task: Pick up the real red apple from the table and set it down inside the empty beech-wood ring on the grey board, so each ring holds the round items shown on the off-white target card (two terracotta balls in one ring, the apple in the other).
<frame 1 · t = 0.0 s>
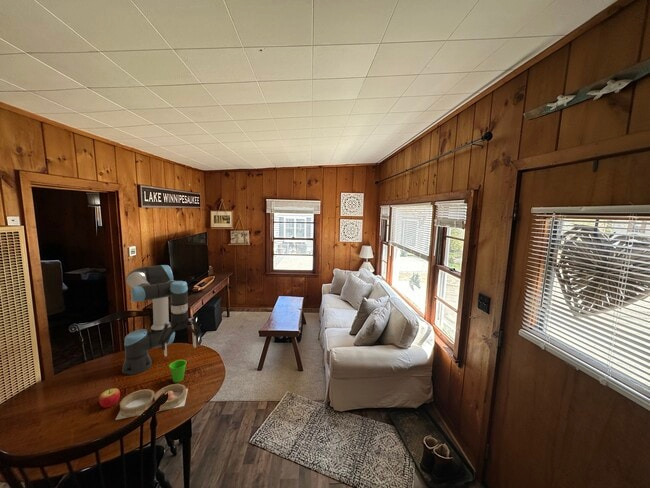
hand: (180, 350, 134), 28 cm above the table, fingers open, 13 cm apart
ring a: (170, 399, 136), resting on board
ball 1: (169, 397, 137), point 1 cm above the table, touching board
apple: (110, 405, 132), on the table
ring b: (138, 406, 131), resting on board
target card: (153, 392, 142), on the table
cup: (178, 381, 152), on the table
ball 2: (171, 402, 134), point 1 cm above the table, touching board
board: (154, 404, 133), on the table
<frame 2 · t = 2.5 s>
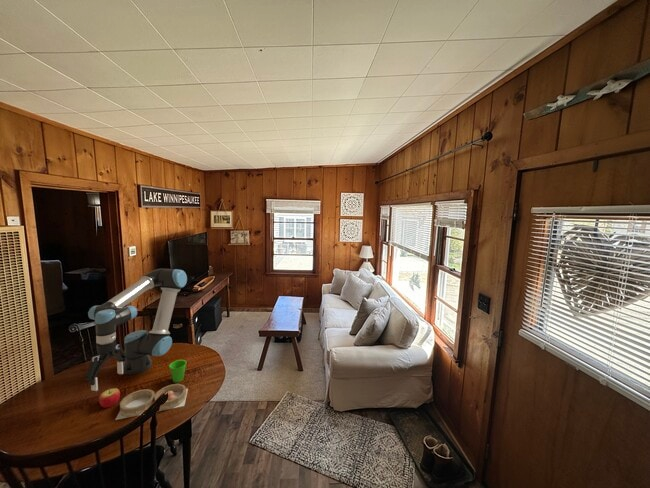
hand: (108, 381, 130), 13 cm above the table, fingers open, 13 cm apart
nothing on the table moved.
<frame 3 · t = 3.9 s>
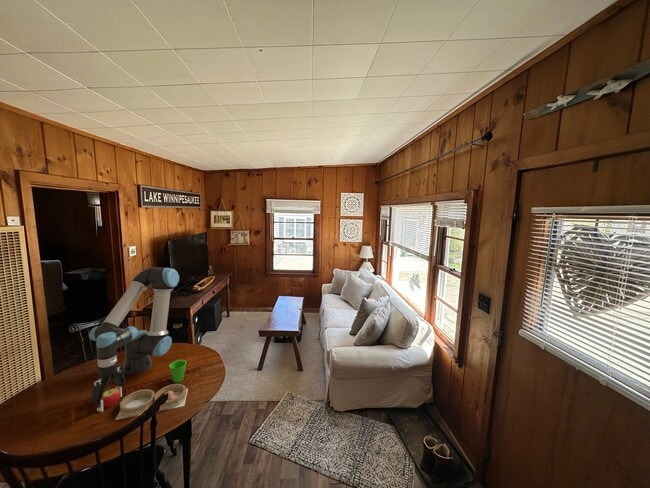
hand: (110, 405, 132), 0 cm above the table, fingers open, 9 cm apart
nothing on the table moved.
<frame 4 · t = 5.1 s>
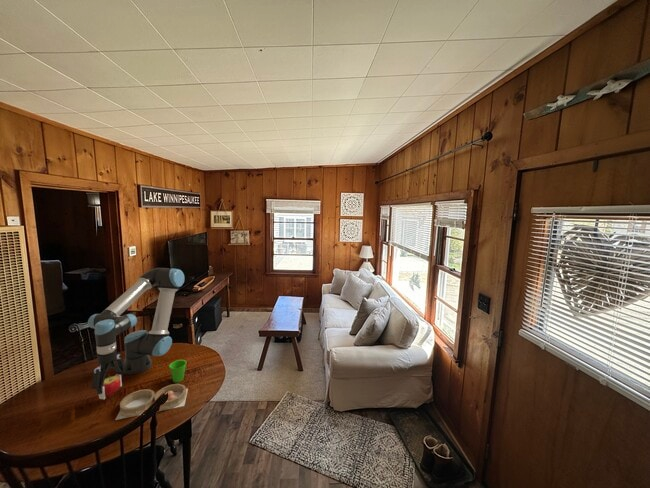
hand: (110, 391, 132), 7 cm above the table, fingers closed on apple, 8 cm apart
apple: (111, 392, 132), point 6 cm above the table, touching gripper
everything else where it was.
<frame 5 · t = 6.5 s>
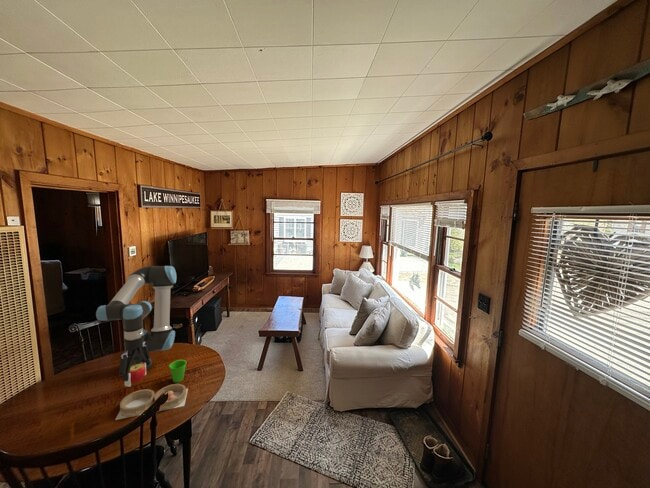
hand: (135, 380, 129), 15 cm above the table, fingers closed on apple, 8 cm apart
apple: (135, 380, 129), point 15 cm above the table, touching gripper
everything else where it was.
when the fingers open (6 cm above the table, at t = 8.4 s): apple drops 4 cm, resting on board.
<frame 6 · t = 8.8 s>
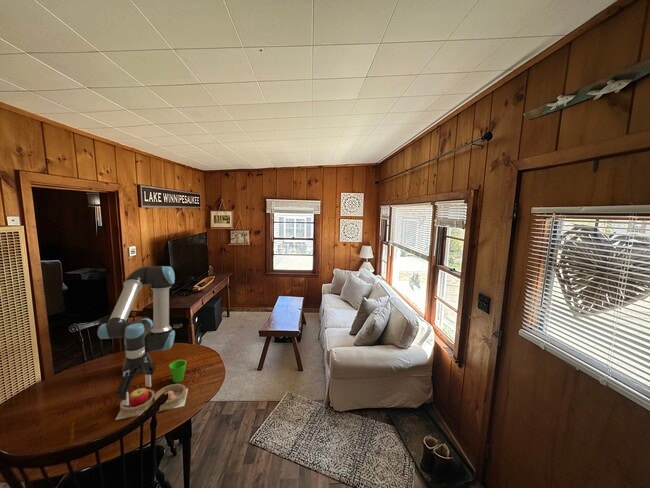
hand: (137, 395, 130), 7 cm above the table, fingers open, 13 cm apart
apple: (139, 405, 131), point 1 cm above the table, touching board
everything else where it was.
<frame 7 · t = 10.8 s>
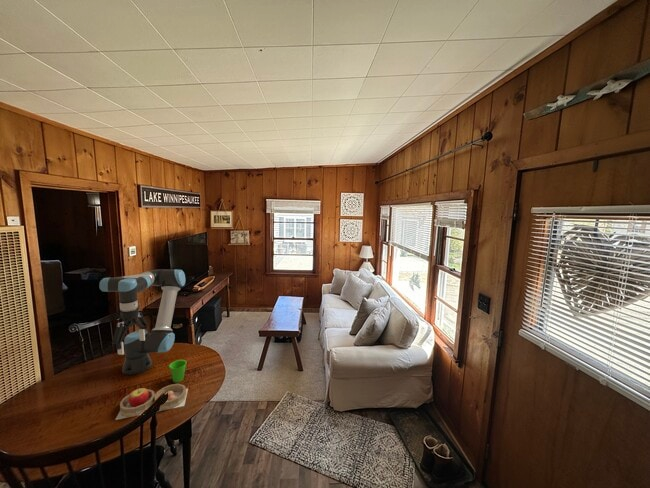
hand: (132, 346, 136), 28 cm above the table, fingers open, 13 cm apart
nothing on the table moved.
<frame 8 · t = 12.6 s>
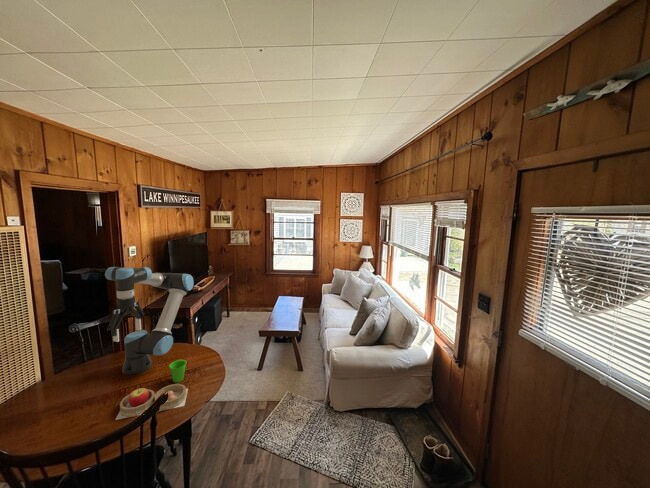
hand: (127, 335, 139), 33 cm above the table, fingers open, 13 cm apart
nothing on the table moved.
at the end: apple 0.6 cm from the ring b (horizontally); apple point 1.0 cm above the table; the gripper is holding nothing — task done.
